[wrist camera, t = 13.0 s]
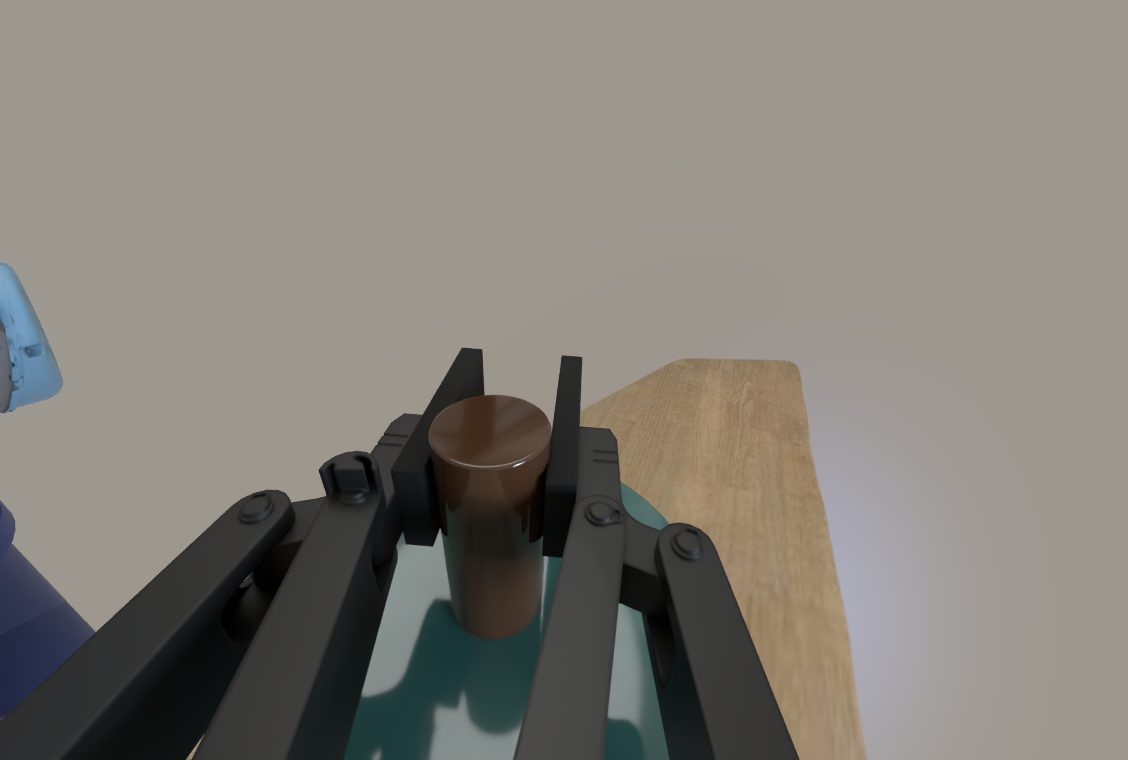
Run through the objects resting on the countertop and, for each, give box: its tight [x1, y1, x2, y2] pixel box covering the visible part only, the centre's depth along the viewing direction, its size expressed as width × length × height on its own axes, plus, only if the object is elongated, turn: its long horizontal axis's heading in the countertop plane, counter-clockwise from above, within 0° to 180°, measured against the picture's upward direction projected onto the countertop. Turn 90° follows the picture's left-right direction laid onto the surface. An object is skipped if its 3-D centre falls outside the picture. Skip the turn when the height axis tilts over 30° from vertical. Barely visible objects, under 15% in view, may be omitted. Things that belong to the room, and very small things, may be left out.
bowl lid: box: [344, 395, 669, 760], centre depth 13 cm, size 15×15×8 cm
